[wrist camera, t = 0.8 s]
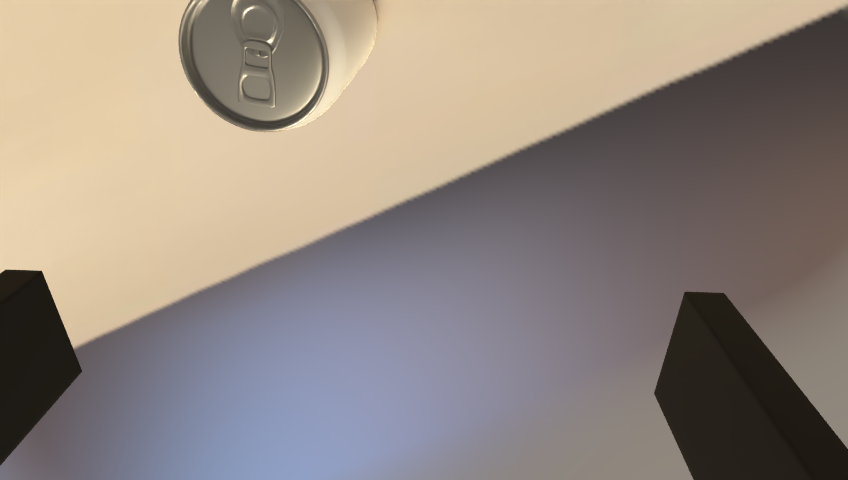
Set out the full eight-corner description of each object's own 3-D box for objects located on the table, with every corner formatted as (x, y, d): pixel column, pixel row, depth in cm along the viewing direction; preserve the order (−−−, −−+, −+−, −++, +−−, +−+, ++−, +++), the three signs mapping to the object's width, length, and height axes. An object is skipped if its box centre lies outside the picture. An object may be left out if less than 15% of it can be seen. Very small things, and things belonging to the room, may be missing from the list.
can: (385, -33, 29) (347, -22, 18) (372, 87, 32) (333, 155, 21) (266, -54, 28) (158, -55, 18) (265, 68, 32) (172, 128, 21)
